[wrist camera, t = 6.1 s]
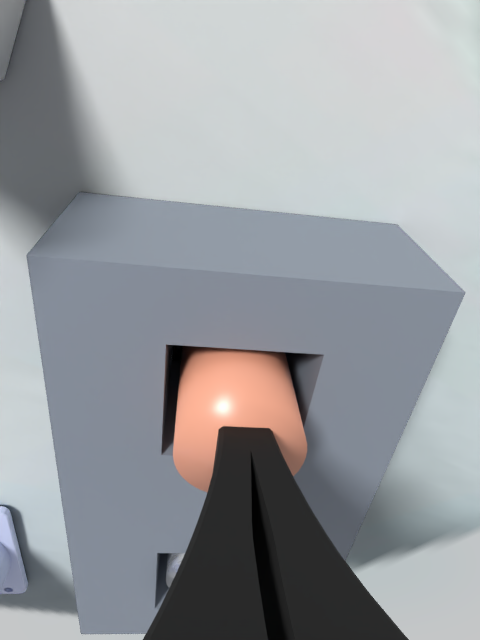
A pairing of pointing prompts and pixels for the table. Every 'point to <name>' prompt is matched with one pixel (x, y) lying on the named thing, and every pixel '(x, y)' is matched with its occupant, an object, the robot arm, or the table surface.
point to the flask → (8, 30)
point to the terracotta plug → (233, 406)
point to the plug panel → (218, 332)
